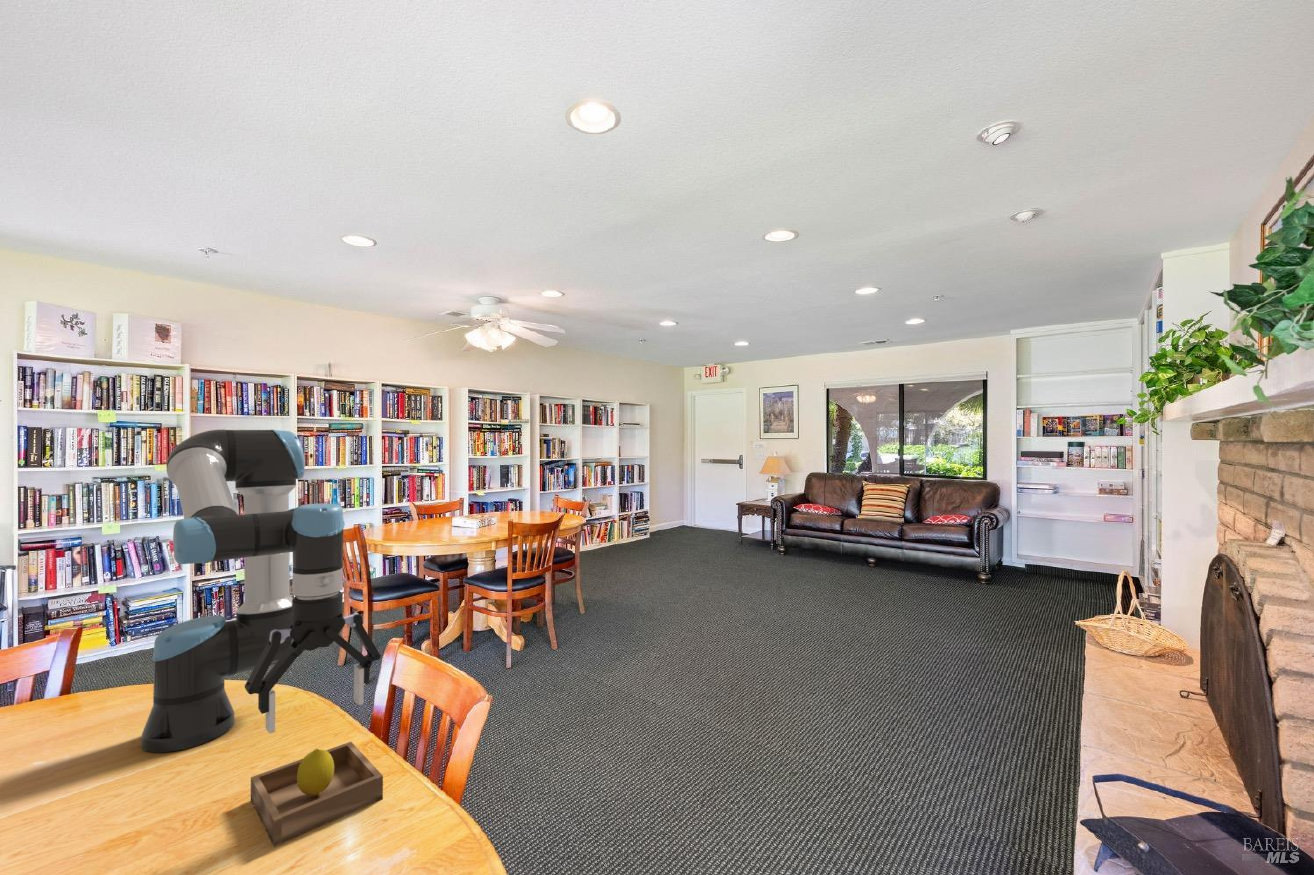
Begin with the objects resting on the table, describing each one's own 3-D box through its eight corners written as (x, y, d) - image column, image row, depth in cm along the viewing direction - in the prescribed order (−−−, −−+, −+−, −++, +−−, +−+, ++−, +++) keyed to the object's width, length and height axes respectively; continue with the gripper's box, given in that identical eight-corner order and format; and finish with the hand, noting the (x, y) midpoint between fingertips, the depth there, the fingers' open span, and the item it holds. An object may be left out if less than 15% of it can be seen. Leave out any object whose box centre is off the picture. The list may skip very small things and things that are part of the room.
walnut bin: (250, 800, 97) (250, 777, 97) (350, 762, 109) (351, 741, 109) (273, 846, 86) (274, 820, 86) (382, 798, 98) (382, 775, 98)
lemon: (316, 808, 94) (317, 760, 94) (288, 803, 95) (289, 756, 95) (341, 788, 99) (341, 742, 99) (314, 783, 100) (315, 739, 100)
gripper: (233, 615, 86) (232, 752, 86) (400, 584, 104) (398, 698, 104) (224, 604, 91) (223, 733, 91) (384, 576, 109) (383, 685, 109)
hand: (316, 715), depth 98 cm, fingers open, 13 cm apart
